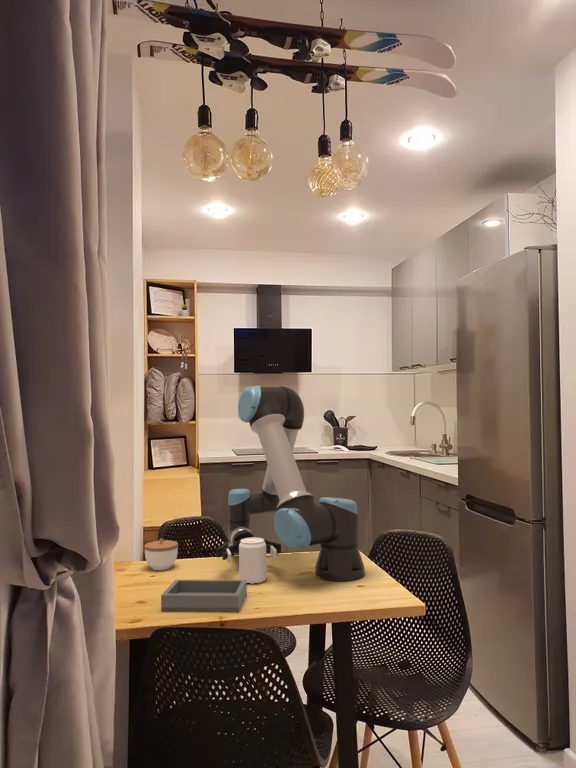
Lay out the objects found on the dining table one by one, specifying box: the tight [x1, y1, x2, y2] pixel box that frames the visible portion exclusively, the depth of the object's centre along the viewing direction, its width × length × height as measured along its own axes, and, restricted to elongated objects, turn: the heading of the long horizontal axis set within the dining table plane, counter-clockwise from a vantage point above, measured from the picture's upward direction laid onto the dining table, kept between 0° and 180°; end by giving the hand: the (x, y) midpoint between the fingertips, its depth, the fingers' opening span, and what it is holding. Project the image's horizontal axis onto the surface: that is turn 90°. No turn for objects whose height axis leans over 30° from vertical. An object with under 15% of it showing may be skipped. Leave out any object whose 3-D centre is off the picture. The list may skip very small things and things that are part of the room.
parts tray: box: [160, 579, 248, 613], centre depth 145 cm, size 20×13×4 cm, turn 86°
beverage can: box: [238, 536, 268, 585], centre depth 164 cm, size 8×8×12 cm
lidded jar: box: [143, 538, 179, 571], centre depth 179 cm, size 11×11×9 cm
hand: (253, 557), depth 162 cm, fingers open, 13 cm apart
